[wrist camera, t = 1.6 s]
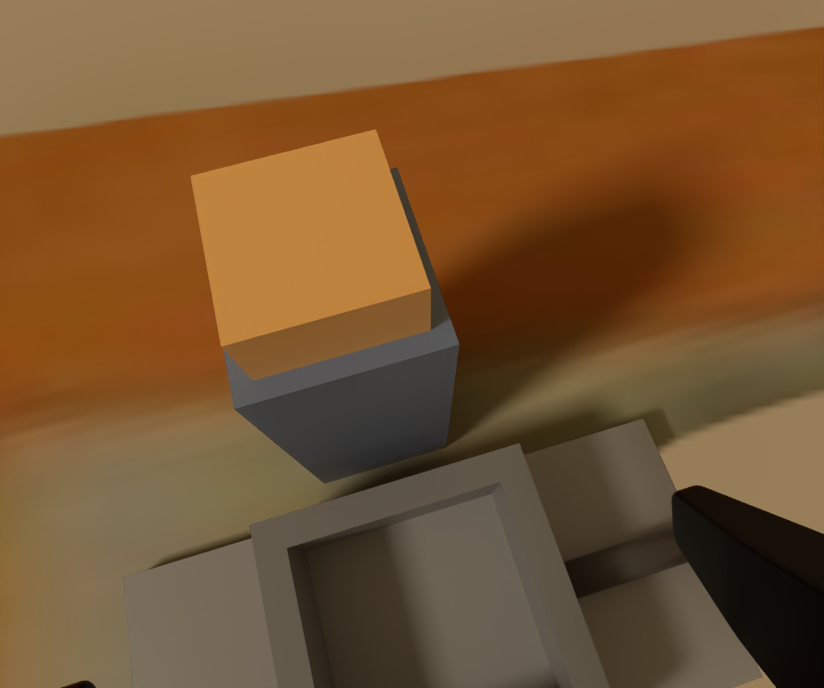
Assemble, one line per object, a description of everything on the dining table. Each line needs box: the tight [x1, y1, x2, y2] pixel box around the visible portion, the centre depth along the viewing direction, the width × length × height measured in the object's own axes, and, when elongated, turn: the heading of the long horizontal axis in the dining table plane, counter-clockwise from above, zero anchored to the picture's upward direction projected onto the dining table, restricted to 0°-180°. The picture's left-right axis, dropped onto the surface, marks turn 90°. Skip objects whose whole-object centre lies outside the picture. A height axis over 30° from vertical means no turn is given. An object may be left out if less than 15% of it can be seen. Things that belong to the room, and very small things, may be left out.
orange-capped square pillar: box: [191, 129, 459, 484], centre depth 17 cm, size 5×5×13 cm
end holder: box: [123, 419, 762, 688], centre depth 18 cm, size 9×20×4 cm, turn 106°
